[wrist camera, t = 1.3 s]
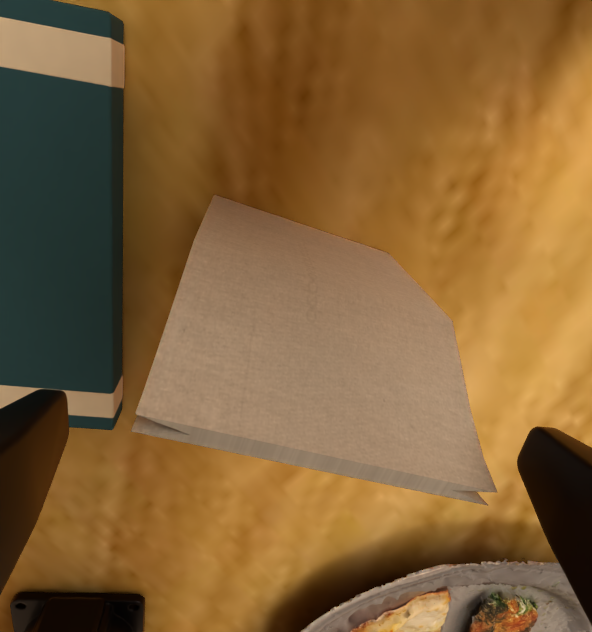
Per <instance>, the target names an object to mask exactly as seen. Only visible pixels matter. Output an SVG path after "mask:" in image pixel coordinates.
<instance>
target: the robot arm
mask: <svg viewBox="0 0 592 632" xmlns="http://www.w3.org/2000/svg"><path fill="white" fill-rule="evenodd" d="M68 434H69V420H68V403H67V396H66V393H65V392H64V391H62V390H51V389H39V390H36V391H34V392H32V393H30V394H28V395H26V396H24V397H22V398H20V399H18V400H16V401H14V402H12V403H11V404H9V405H7V406H5V407H3V408H1V409H0V594H1V592H2V590H3V588H4V587H5V585H6V583H7V581H8V579H9V577H10V575H11V573H12V571H13V569H14V567H15V565H16V563H17V561H18V559H19V557H20V555H21V553H22V551H23V549H24V547H25V545H26V543H27V541H28V539H29V537H30V535H31V533H32V531H33V529H34V527H35V525H36V522H37V520H38V517H39V515H40V512H41V510H42V507H43V504H44V502H45V499H46V496H47V494H48V491H49V488H50V486H51V483H52V480H53V478H54V475H55V472H56V470H57V467H58V464H59V462H60V459H61V456H62V454H63V451H64V448H65V446H66V443H67V439H68ZM517 466H518V470H519V473H520V475H521V478H522V480H523V482H524V485H525V487H526V490H527V492H528V495H529V497H530V499H531V502H532V504H533V507H534V509H535V512H536V514H537V517H538V519H539V521H540V524H541V526H542V529H543V531H544V533H545V536H546V538H547V540H548V542H549V544H550V546H551V548H552V550H553V552H554V554H555V556H556V558H557V560H558V562H559V564H560V566H561V568H562V570H563V572H564V574H565V576H566V578H567V579H568V581H569V583H570V585H571V587H572V589H573V591H574V593H575V595H576V597H577V599H578V601H579V603H580V605H581V607H582V608H583V610H584V612H585V614H586V616H587V618H588V620H589V622H590V624H591V626H592V448H591V447H589V446H587V445H585V444H584V443H582V442H580V441H578V440H576V439H574V438H573V437H571V436H569V435H567V434H565V433H563V432H561V431H560V430H558V429H555V428H549V427H535V428H533V429H532V430H531V431H530V432H529V434H528V436H527V439H526V441H525V443H524V445H523V447H522V449H521V451H520V454H519V456H518V460H517ZM10 607H11V614H12V620H13V627H14V632H144V620H145V598H144V597H143V596H142V595H140V594H108V593H45V592H21V593H18V594H16V595H15V596H14V598H13V600H12V602H11V605H10Z"/></svg>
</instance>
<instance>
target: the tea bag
mask: <svg viewBox="0 0 592 632" xmlns="http://www.w3.org/2000/svg"><path fill="white" fill-rule="evenodd" d="M135 414H136V415H137V418H136V420H135V422H134V425H133V427H132V430H131V432H136V433H141V434H146V435H151V436H155V437H160V438H165V439H170V440H175V441H179V442H184V443H189V444H194V445H199V446H204V447H208V448H213V449H218V450H223V451H228V452H233V453H237V454H242V455H247V456H252V457H257V458H262V459H266V460H271V461H276V462H281V463H286V464H290V465H295V466H300V467H305V468H310V469H315V470H319V471H324V472H329V473H334V474H339V475H344V476H348V477H353V478H358V479H363V480H368V481H373V482H377V483H382V484H387V485H392V486H397V487H401V488H406V489H411V490H416V491H421V492H426V493H430V494H435V495H440V496H445V497H450V498H455V499H459V500H464V501H469V502H474V503H479V504H484V505H487V503H486V502H485V501H484V500H483V499H482V498H481V497H480V495H479V494H478V493H477V492H476V491H479V492H497V490H496V488H495V485H494V483H493V480H492V478H491V475H490V473H489V470H488V468H487V465H486V463H485V460H484V458H483V454H482V451H481V447H480V443H479V439H478V436H477V432H476V428H475V425H474V421H473V417H472V413H471V410H470V405H469V400H468V395H467V390H466V385H465V380H464V375H463V370H462V365H461V361H460V356H459V351H458V346H457V341H456V336H455V331H454V326H453V321H452V320H451V319H450V318H449V317H448V316H447V315H446V314H445V312H444V311H443V310H442V309H441V308H440V307H439V306H438V305H437V304H436V303H435V302H434V301H433V300H432V299H431V298H430V297H429V295H428V294H427V293H426V292H425V291H424V290H423V289H422V288H421V287H420V286H419V285H418V284H417V283H416V282H415V281H414V280H413V278H412V277H411V276H410V275H409V274H408V273H407V272H406V271H405V270H404V269H403V268H402V267H401V266H400V265H399V264H398V263H397V261H396V260H395V259H394V258H393V257H392V256H391V255H390V254H389V253H387V252H384V251H381V250H378V249H375V248H372V247H369V246H366V245H363V244H360V243H357V242H354V241H351V240H348V239H345V238H342V237H339V236H336V235H333V234H330V233H327V232H324V231H321V230H318V229H315V228H312V227H309V226H306V225H303V224H300V223H297V222H294V221H291V220H288V219H285V218H283V217H280V216H277V215H274V214H271V213H268V212H265V211H262V210H259V209H256V208H253V207H250V206H247V205H244V204H241V203H238V202H235V201H232V200H229V199H226V198H223V197H220V196H217V195H214V196H213V198H212V201H211V203H210V205H209V207H208V210H207V212H206V214H205V216H204V219H203V221H202V223H201V225H200V228H199V230H198V232H197V235H196V237H195V239H194V242H193V245H192V248H191V251H190V254H189V257H188V260H187V263H186V266H185V269H184V272H183V275H182V278H181V281H180V284H179V287H178V290H177V293H176V296H175V299H174V302H173V305H172V308H171V311H170V314H169V317H168V320H167V323H166V326H165V329H164V332H163V335H162V338H161V341H160V344H159V347H158V350H157V353H156V356H155V359H154V362H153V364H152V367H151V370H150V373H149V376H148V379H147V382H146V385H145V388H144V391H143V393H142V396H141V399H140V402H139V405H138V407H137V410H136V413H135Z"/></svg>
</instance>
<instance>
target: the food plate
mask: <svg viewBox="0 0 592 632" xmlns="http://www.w3.org/2000/svg"><path fill="white" fill-rule="evenodd" d="M503 559H505V560H504V561H503V562H500V561H496V563H494V562H490V561H489V562H486V561H484V562H483V561H482V563H481V564H477V565H476V563H470V564H460V565H459V564H456V565H454V564H452V565H451V564H445V565H443V564H441V565H438V566H434V567H430V568H428V569H424V570H423V571H422V570H419V571H417V572H416V573H411V574H408V575H407V577H406V578H403V577H402V578H401V579H400V578H399V579H395V580H394V582H392V583H388V584H387V583H386V585H385V586H383V585H382V587H375V588H373V590H371V589H370V590H369V591H368V592H364V593H361V594H358V595H356V596H355V598H354V599H353V598H350V601H347V602H346V601H345V602H346V603H341V604H339V607H334V608H332V610H330V612H328V611H327V613H326V614H325V613H324V615H322V616H321V617H319V618H317V620H314V621H313V622H312V623H311V624H309V625H308V626H307V627H306V628H305V629H303V630H301V632H592V626H591V624H590V622H589V620H588V618H587V616H586V614H585V612H584V610H583V608H582V607H581V605H580V603H579V601H578V599H577V597H576V595H575V593H574V591H573V589H572V587H571V585H570V583H569V581H568V579H567V578H566V576H565V574H564V572H563V570H562V568H561V566H560V564H559V563H550V562H548V563H542V562H541V563H539V562H537V561H536V562H534V561H529V560H528V563H525V562H523V561H522V562H520V563H518V562H517V561H514V562H509V563H508V562H506V561H508V559H506V558H503ZM523 559H524V558H523ZM493 560H494V559H493Z"/></svg>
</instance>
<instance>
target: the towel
mask: <svg viewBox="0 0 592 632" xmlns="http://www.w3.org/2000/svg"><path fill="white" fill-rule="evenodd" d="M123 28H124V24H123V21H121V20H120V19H118V18H117V17H115V16H114V15H112V14H111V13H109V12H107V11H102V10H97V9H92V8H88V7H83V6H78V5H73V4H68V3H63V2H58V1H53V0H0V409H1V408H3V407H5V406H7V405H9V404H11V403H12V402H14V401H16V400H18V399H20V398H22V397H24V396H26V395H28V394H30V393H32V392H34V391H36V390H39V389H51V390H62V391H64V392H65V393H66V396H67V403H68V420H69V427H75V428H89V429H104V430H113V429H114V426H115V424H116V422H117V420H118V417H119V415H120V413H121V410H122V398H123V375H122V300H123V89H124V87H125V46H124V45H123Z"/></svg>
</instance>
